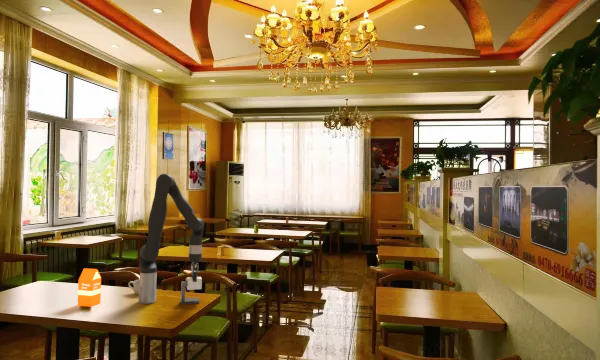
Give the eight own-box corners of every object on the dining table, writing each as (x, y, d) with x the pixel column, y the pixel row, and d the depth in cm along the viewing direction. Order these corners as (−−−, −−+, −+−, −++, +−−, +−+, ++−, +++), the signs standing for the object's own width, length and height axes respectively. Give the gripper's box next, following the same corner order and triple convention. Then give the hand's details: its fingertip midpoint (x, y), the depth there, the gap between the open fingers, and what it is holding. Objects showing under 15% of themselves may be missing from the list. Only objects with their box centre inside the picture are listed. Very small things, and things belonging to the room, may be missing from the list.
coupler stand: (181, 304, 243) (181, 283, 243) (180, 300, 251) (181, 280, 251) (201, 303, 247) (202, 282, 247) (200, 299, 254) (201, 279, 254)
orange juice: (91, 306, 234) (92, 270, 235) (77, 305, 236) (78, 269, 237) (100, 303, 242) (101, 267, 243) (87, 302, 244) (88, 267, 244)
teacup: (154, 291, 271) (154, 279, 271) (146, 296, 260) (146, 282, 260) (133, 290, 272) (133, 278, 273) (124, 294, 262) (125, 281, 262)
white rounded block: (200, 286, 253) (200, 276, 253) (201, 289, 248) (201, 278, 248) (185, 287, 251) (185, 277, 251) (185, 289, 245) (186, 279, 245)
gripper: (202, 254, 244) (201, 282, 243) (200, 250, 257) (199, 277, 257) (189, 254, 242) (188, 283, 241) (188, 250, 255) (186, 278, 255)
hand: (194, 280), depth 249 cm, fingers open, 8 cm apart
